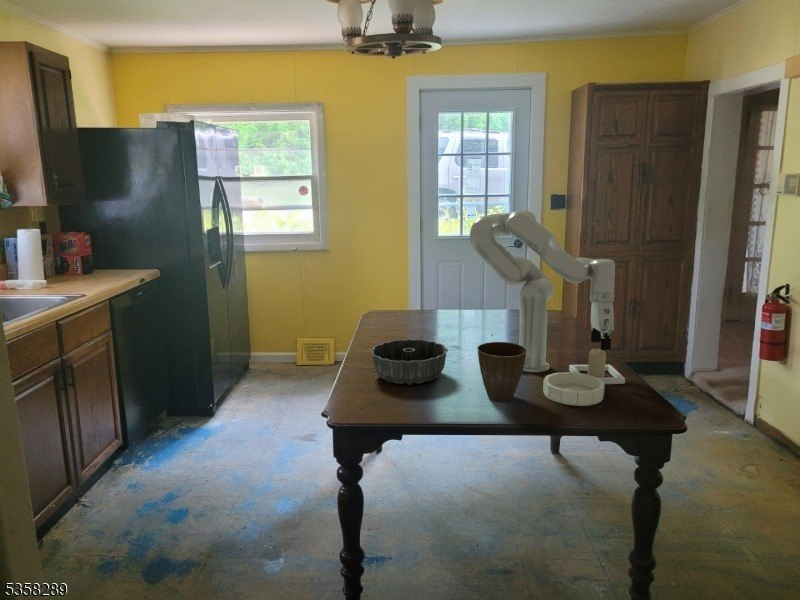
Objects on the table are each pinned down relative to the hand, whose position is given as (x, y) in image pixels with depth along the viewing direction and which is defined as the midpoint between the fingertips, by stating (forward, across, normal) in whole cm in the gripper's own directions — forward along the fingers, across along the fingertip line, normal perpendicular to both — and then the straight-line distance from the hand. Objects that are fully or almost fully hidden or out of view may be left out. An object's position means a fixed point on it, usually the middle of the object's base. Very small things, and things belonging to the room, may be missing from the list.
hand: (600, 345), depth 198 cm
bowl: (+11, -16, +14) cm, 24 cm away
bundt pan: (+10, +2, +65) cm, 66 cm away
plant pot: (+10, -18, +37) cm, 42 cm away
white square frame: (+11, 0, +1) cm, 11 cm away
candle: (+11, 0, +1) cm, 11 cm away
